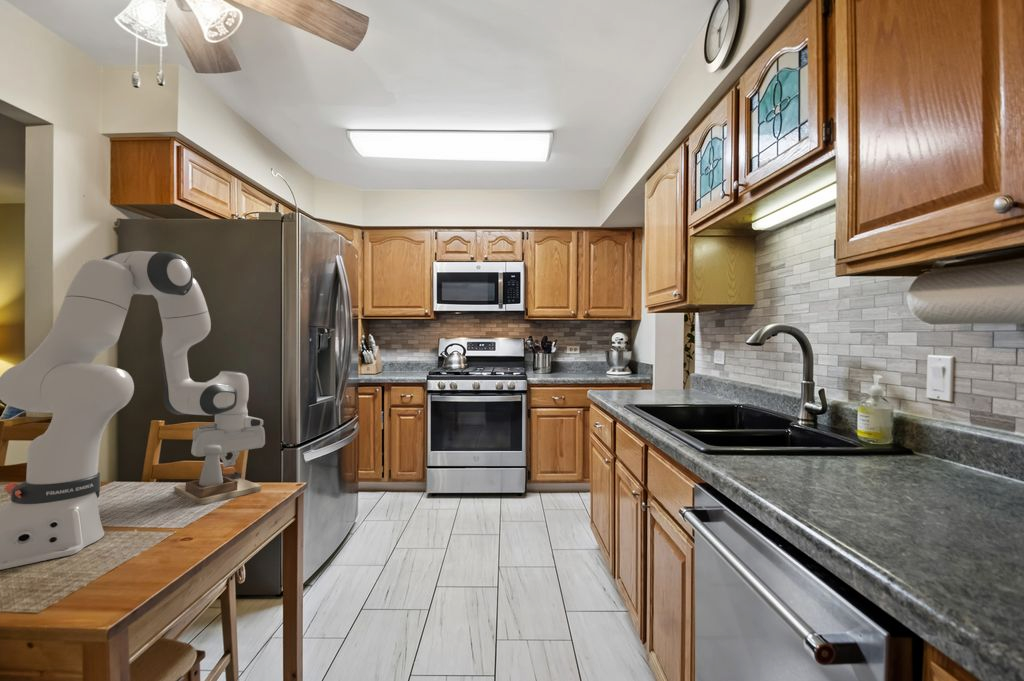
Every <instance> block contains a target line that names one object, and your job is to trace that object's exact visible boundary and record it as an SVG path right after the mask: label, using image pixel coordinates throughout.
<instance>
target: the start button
mask: <svg viewBox="0 0 1024 681" xmlns="http://www.w3.org/2000/svg"><path fill="white" fill-rule="evenodd" d="M222 469H223V470H222V473H223V475H224V476H227V475H233V474H235V471H236V467H234V466H229V467H223V468H222Z"/></svg>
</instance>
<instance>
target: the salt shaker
mask: <svg viewBox="0 0 1024 681" xmlns="http://www.w3.org/2000/svg"><path fill="white" fill-rule="evenodd" d="M221 451H222V448H221V446H220V445H209V446H206V447H205V448H204V454H206V456H205V459H204V463H203V466H202V470H201V473H200V477H199V480H200V481H199V486H200V487H201V488H205V487H209V486H214V485H219V484H223V477H222V473H223V470H222V467H221V461H220V460H221V458H220V457H219V453H221Z"/></svg>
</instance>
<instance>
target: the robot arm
mask: <svg viewBox="0 0 1024 681" xmlns="http://www.w3.org/2000/svg"><path fill="white" fill-rule="evenodd" d="M134 295H145V296H153V298H154V299H156V302H157V307H158V312H159V315H160V316H159V317H160V319H161V320H160V321H161V323H162V324H161V326H162V335H161V337H160V340H159V350H160V359H161V366H162V367H161V368H162V373H163V380H164V387H163V388H164V390H163V395H162V398H163V404H164V407H165V409H167V411H169V412H170V413H171V414H174V415H195V416H214V423H210V424H200V425H198V426H196V427H195V428H194V429H193V430H192V443H191V444H192V445H191V450H190V451H191V452H190V453H191V454H192V456H194V457H197V458H200V457H201V458H202V457H206V454H204V448H205V447H206V446H209V445H220V446H221V448H222V451H221V453H219V458H220V460H222V467H223V468H227V467H234V466H235V465H236V461H237V459H238V457H239V456H240V455H241V454H240V453H241V451H247V450H255V449H260V448H263V447H264V446H265V444H266V433H265V432H266V431H265V428H264V426H263V425H264V420H263V419H262V418H259V417H254V416H251V415H249V414H248V413H249V411H248V402H249V395H250V394H249V393H250V391H249V390H250V385H249V377H248V376H247V374H245V373H244V372H242V371H241V372H240V371H235V370H220V372H219V374H218V375H216V376H215V377H213V378H212V379H209V380H207V381H206V382H205V381H204V382H200V381H194V380H193V379H192V378H191V377H190V372H189V363H188V362H189V361H188V351H189V350H190V348H192V347H193V346H194V345H196V344H198V343H200V342H202V341H203V340H205V339H206V337H207V336H208V335H209V334H210V332H211V329H212V328H211V326H212V323H211V322H212V321H211V316H210V312H209V308H208V305H207V302H206V298H205V296H204V294H203V291H202V288H201V286H200V285H199V282H198V281H197V280H196V279H195V278H194V273H193V269H192V267H191V265H190V264H189V262H188V261H187V260H186V258H185V257H183V255H180V254H177V253H175V252H171V251H145V250H134V251H126V252H115V253H112V254H109V255H106V256H104V257H103V258H99V259H98V258H95V259H91V260H88V261H86V262H85V263H84V264H82V266H81V267H80V268H79V269H78V271H77V273H76V274H75V275H74V277H73V279H72V281H71V283H70V285H69V287H68V289H67V291H66V293H65V296H64V299H63V301H62V304H61V306H60V308H59V311H58V314H57V316H56V319H55V320H54V323H53V326H52V327H51V329H50V331H49V332H48V334H47V335H46V337H45V338H44V339H43V341H42V342H41V343H40V344H39V345H38V346H37V347H36V348H35V350H33V351H32V353H31V354H30V355H28V357H26V358H25V359H24V360H22V361H21V362H19V363H18V364H16V365H14V366H12V367H9V368H8V369H6V370H5V371H4V372H3V373H2V374H1V375H0V401H1V402H2V403H4V404H5V405H7V406H9V407H13V408H15V409H19V410H22V411H27V412H31V413H47V414H49V413H52V417H51V421H50V423H49V424H48V427H47V430H45V432H44V433H43V434H41V435H39V436H37V437H35V438H33V440H32V441H31V442H30V443H29V445H28V448H27V459H26V460H27V461H26V479H25V481H22V482H21V483H17V482H10V483H7V484H6V485H4V492H6V493H7V494H10V501H11V502H9V503H7V504H6V505H4V506H3V507H2V508H0V571H1V570H6V569H10V568H14V567H19V566H24V565H29V564H34V563H38V562H42V561H47V560H48V561H49V560H51V559H52V560H53V559H57V558H58V559H59V558H61V557H62V558H63V557H67V556H71V555H75V554H77V553H79V552H80V551H81V550H83V549H84V548H85V547H87V546H89V545H91V544H93V543H94V544H95V542H97V541H99V540H101V539H102V538H103V537H104V535H105V531H104V528H103V524H102V521H101V516H100V511H99V510H100V509H99V497H100V493H101V488H102V487H101V483H102V482H101V481H102V479H101V473H100V472H99V462H100V461H99V460H100V447H101V440H102V437H103V434H104V431H105V429H106V427H107V425H108V423H109V422H110V420H111V419H112V417H113V416H114V415H115V414H116V413H118V412H119V411H120V410H122V409H123V408H124V407H125V406H127V405H128V404H129V403H130V401H131V399H132V398H133V395H134V392H135V383H134V380H133V377H132V376H131V375H130V373H129V372H128V371H126V370H124V369H121V368H118V367H114V366H110V365H106V364H103V363H93V361H94V360H95V359H96V358H97V357H98V356H99V355H100V354H101V353H103V352H104V351H105V352H106V350H108V349H110V348H112V347H114V346H115V345H116V343H118V341H119V340H120V335H121V332H122V330H123V327H124V324H125V320H126V318H127V315H128V312H129V308H130V306H131V301H132V297H133V296H134ZM228 453H231V454H232V456H231V458H230V459H227V458H226V457H227V456H228Z"/></svg>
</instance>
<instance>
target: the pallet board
mask: <svg viewBox="0 0 1024 681" xmlns="http://www.w3.org/2000/svg"><path fill="white" fill-rule="evenodd" d="M222 477H223V484H219V485H214V486H209V487H205V488H201V487H200V486H199V481H200V479H197V480H192V481H191V480H190V481H186V482H185V484H179V485H174V486H173V488H174V489H173V490H174V492H175V493H176V494H179V495H180V496H182V497H184V498H187V499H188V500H190V501H192V502H194V503H195V504H198V505H200V506H203V505H206V504H211V503H216V502H220V501H224V500H228V499H231V498H237V497H240V496H244V495H249V494H254V493H257V492H256V491H258V492H261V491H262V485H260V484H258V483H256V482H252V481H250V480H247V479H245V478H242V472H239V471H237V470H235V474H233V475H227V476H224V475H223V472H222ZM260 490H261V491H260ZM253 492H254V493H253Z"/></svg>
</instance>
